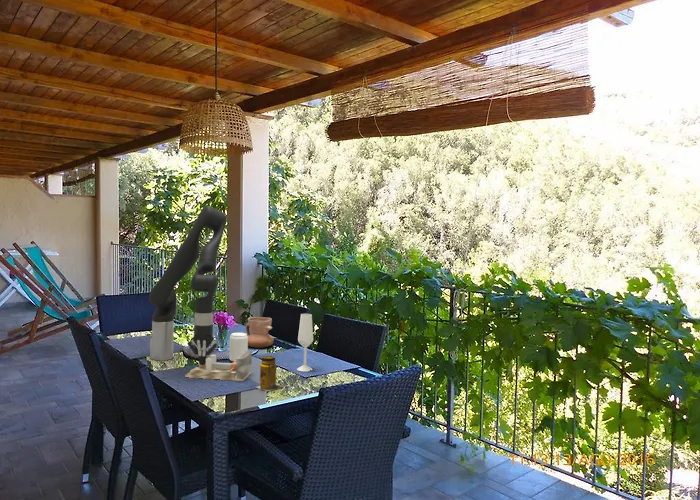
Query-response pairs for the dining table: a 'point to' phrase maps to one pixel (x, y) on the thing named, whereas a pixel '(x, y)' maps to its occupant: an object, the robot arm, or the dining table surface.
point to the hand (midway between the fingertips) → (202, 364)
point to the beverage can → (237, 345)
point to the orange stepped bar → (233, 367)
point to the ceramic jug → (259, 332)
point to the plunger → (215, 364)
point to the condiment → (268, 374)
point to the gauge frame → (226, 370)
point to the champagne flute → (305, 337)
